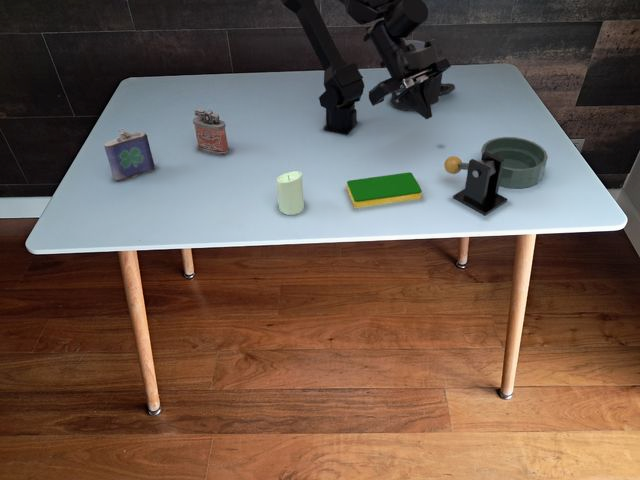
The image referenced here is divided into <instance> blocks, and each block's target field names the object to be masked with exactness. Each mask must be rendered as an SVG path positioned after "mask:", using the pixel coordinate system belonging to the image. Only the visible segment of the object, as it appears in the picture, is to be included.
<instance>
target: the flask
mask: <svg viewBox="0 0 640 480" xmlns="http://www.w3.org/2000/svg"><path fill="white" fill-rule="evenodd" d="M118 132H119V137H116V138H113V139H111V140H108V141H106V142H104V144H103V148H104V150H105V151H104V152H105V154H106V157H107V160H108V163H109V167H110V170H111V174H112V178H113V180H114V181H115V182H123V181H126V180H127V179H132V178H135V177H138V176H139V175H141V176H142V175H144V174H147V173H150V172H151V173H152V172H153V171H155V170H156V167H155V161H154V158H153V154H152V149H151V147H150V143H149V142H150V141H149V138H148V134H147V133H146V132H144V131H134V132H133V133H130V132H127V131H126V129H125V128H121V129H120V130H118Z"/></svg>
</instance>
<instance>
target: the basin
mask: <svg viewBox="0 0 640 480" xmlns="http://www.w3.org/2000/svg"><path fill="white" fill-rule="evenodd" d="M485 151H486V152H488V153H490V154H493V155H495V156H497V157H499V158H501V159H503V160H504V165H503V170H502V175H501V180H500V185H499V187H502V188H507V189H526V188H527V189H528V188H531V187H533V186H536V185H538V184H539V183H540V182H541V181H543V178H544V174H545V169H546V165H547V163H548V153H547V151H546V150H545V148H543V147H542V146H541V145H539V144H538V143H536V142H535V141H531V140H529V139H527V138H521V137H515V136H502V137H495V138H493V139H489V140H487V141H486V142H485V143H484V144H482V146H481V149H480V155H479V159H478V162H480V161H481V159H482V153H484V152H485Z"/></svg>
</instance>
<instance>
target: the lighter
mask: <svg viewBox="0 0 640 480" xmlns="http://www.w3.org/2000/svg"><path fill="white" fill-rule="evenodd" d="M193 113H194V116H195V117H194V118H192V123H193V125H194V130H195V135H196V140H197V150H198V151H200V152H202V153H205V154H208V155H214V156H220V157H221V156H222V157H224V156H227V155H229V154H230V147H229V145H228V138H227V131H226V122H225V121H224V120H222V119H220V114H219V113H216V112H214V111H213V110H211V109H208V110H207V111H206V110H203V109H199V108H196V109H195V110H194V111H193Z"/></svg>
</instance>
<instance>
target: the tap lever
mask: <svg viewBox="0 0 640 480" xmlns="http://www.w3.org/2000/svg"><path fill="white" fill-rule="evenodd" d="M480 163H482V164H484V165H486V166H488V167H490V168H491V172H490V176H491V175H492V174H494V173H496V171H495V164H494V161H488V160H481V161H480ZM468 166H469V162H463V161H462V159H461V158H460V157H458V156H455V155H452V156H449V157H447V158H446V159H445V161H444V164H443V167H444V171H446V173H448V174H450V175H456V174H458V173H460V172H461V171H462V170H464V171H468Z"/></svg>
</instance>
